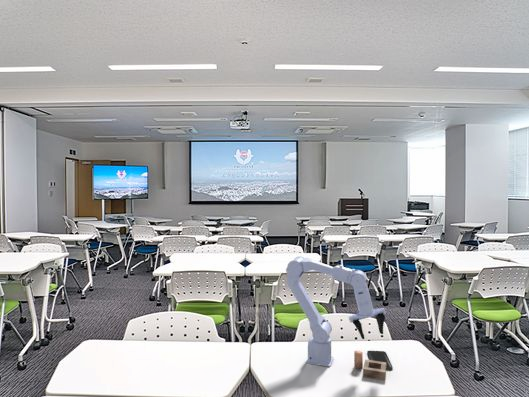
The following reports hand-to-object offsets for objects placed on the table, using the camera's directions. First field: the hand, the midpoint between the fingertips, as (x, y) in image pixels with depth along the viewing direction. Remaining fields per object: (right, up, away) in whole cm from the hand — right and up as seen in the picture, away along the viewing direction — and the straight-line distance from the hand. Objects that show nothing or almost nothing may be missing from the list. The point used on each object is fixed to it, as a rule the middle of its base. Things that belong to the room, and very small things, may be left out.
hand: (372, 335), depth 145 cm
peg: (-5, -13, +2) cm, 14 cm away
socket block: (0, -13, -3) cm, 14 cm away
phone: (+5, -14, +7) cm, 16 cm away
